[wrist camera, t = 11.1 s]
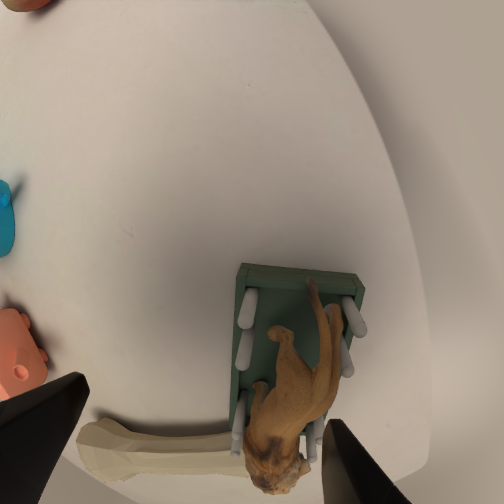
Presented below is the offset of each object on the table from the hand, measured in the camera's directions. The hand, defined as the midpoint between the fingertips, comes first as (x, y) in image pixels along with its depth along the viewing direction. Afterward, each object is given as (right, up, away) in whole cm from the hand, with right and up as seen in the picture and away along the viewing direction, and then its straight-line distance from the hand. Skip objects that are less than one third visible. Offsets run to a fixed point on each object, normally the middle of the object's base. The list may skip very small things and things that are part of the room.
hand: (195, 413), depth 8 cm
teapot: (-26, -6, +17) cm, 31 cm away
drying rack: (+5, -3, +13) cm, 14 cm away
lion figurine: (+5, -3, +11) cm, 13 cm away
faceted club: (-6, -15, +18) cm, 24 cm away
